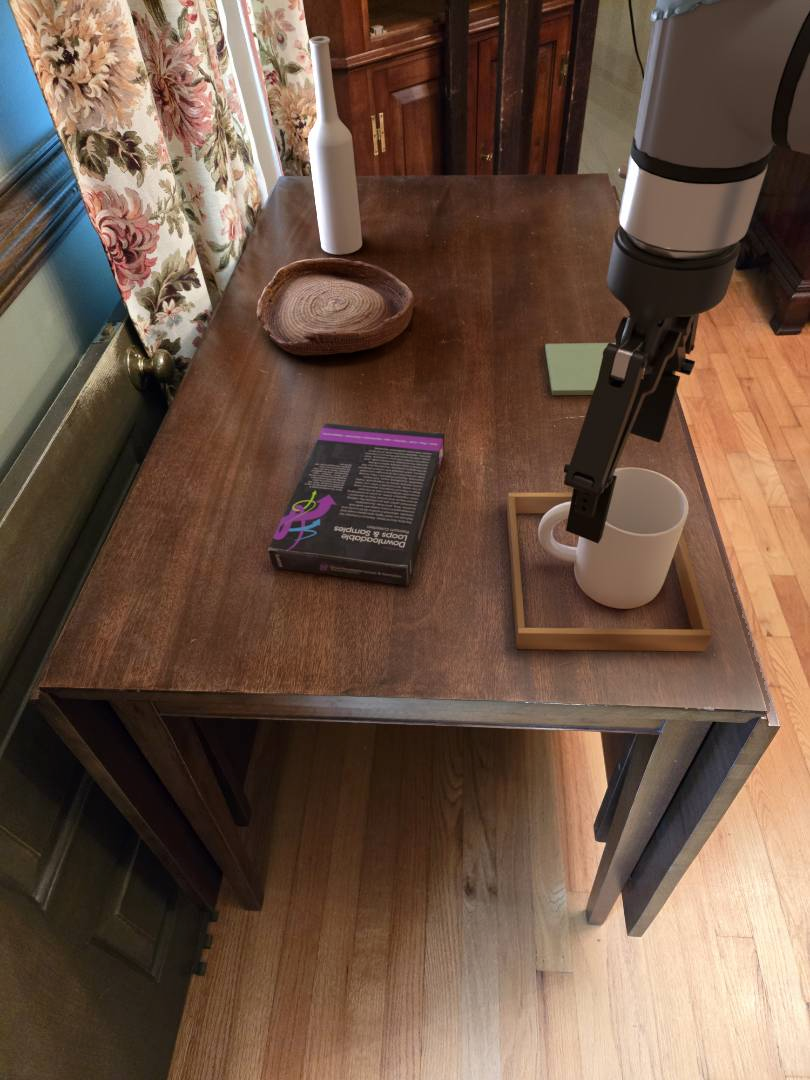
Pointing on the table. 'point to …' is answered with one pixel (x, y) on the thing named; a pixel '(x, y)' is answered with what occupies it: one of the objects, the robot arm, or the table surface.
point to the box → (360, 504)
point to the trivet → (574, 367)
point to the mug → (625, 540)
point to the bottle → (332, 163)
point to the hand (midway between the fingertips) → (616, 482)
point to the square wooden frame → (603, 637)
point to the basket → (333, 307)
